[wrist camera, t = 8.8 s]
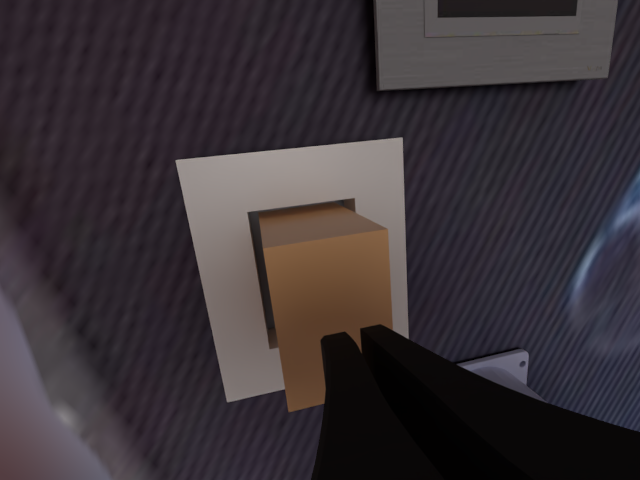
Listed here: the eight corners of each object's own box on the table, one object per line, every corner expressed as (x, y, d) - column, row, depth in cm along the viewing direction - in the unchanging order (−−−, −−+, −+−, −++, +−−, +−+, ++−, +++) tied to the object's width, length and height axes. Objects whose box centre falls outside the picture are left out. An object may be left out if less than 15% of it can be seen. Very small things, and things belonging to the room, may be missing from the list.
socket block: (390, 336, 20) (409, 360, 18) (230, 371, 18) (227, 402, 16) (381, 140, 17) (402, 137, 15) (187, 160, 15) (175, 160, 13)
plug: (343, 304, 18) (395, 385, 12) (274, 318, 18) (288, 412, 11) (334, 202, 17) (387, 228, 10) (258, 212, 16) (262, 248, 9)
